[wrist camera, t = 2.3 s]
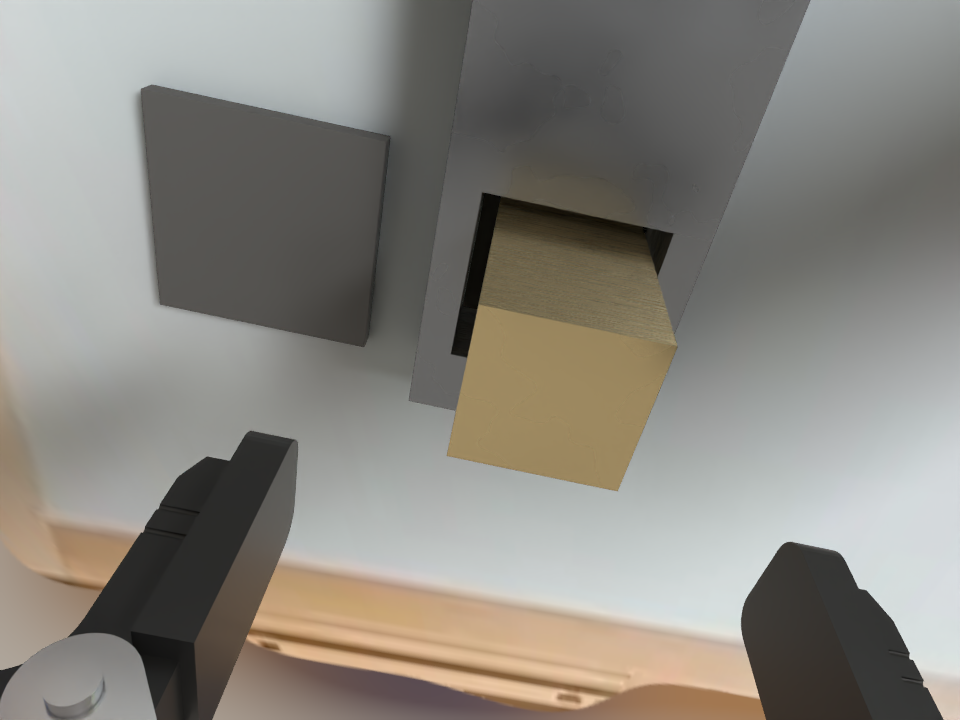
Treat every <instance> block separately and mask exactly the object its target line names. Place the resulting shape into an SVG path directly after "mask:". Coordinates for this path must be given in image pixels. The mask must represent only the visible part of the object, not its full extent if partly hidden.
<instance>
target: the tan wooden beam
mask: <svg viewBox="0 0 960 720" xmlns="http://www.w3.org/2000/svg"><path fill="white" fill-rule="evenodd" d="M676 349H677V343H676V340H675V336H674V333H673V329H672V326H671V323H670V319H669V316H668V312H667V309H666V305H665V302H664V298H663V295H662V292H661V288H660V285H659V281H658V278H657V274H656V271H655V267H654V264H653V261H652V257H651V254H650V250H649V247H648V243H647V240H646V237H645V233H644V230H643V227H642V226H637V225H633V224H628V223H623V222H619V221H614V220H610V219H605V218H600V217H596V216H591V215H586V214H582V213H577V212H572V211H568V210H563V209H558V208H554V207H549V206H545V205H540V204H535V203H531V202H526V201H521V200H517V199H512V198H507V197H503V196H501V200H500V204H499V209H498V214H497V219H496V223H495V228H494V233H493V238H492V242H491V247H490V252H489V256H488V261H487V266H486V271H485V275H484V280H483V285H482V290H481V294H480V299H479V304H478V309H477V314H476V318H475V323H474V328H473V333H472V337H471V342H470V347H469V352H468V357H467V361H466V366H465V371H464V376H463V380H462V385H461V390H460V395H459V400H458V404H457V409H456V414H455V419H454V423H453V428H452V433H451V438H450V443H449V447H448V452H447V456H450V457H455V458H460V459H464V460H469V461H474V462H479V463H484V464H488V465H493V466H498V467H503V468H508V469H513V470H517V471H522V472H527V473H532V474H537V475H541V476H546V477H551V478H556V479H561V480H566V481H570V482H575V483H580V484H585V485H590V486H595V487H599V488H604V489H609V490H614V491H618V489H619V486H620V484H621V482H622V479H623V477H624V474H625V472H626V470H627V467H628V465H629V462H630V460H631V458H632V455H633V453H634V450H635V448H636V446H637V443H638V441H639V438H640V436H641V434H642V431H643V429H644V426H645V424H646V421H647V419H648V417H649V414H650V412H651V409H652V407H653V405H654V402H655V400H656V397H657V395H658V393H659V390H660V388H661V385H662V383H663V381H664V378H665V376H666V373H667V371H668V369H669V366H670V364H671V361H672V359H673V356H674V354H675V352H676Z"/></svg>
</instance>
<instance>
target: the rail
mask: <svg viewBox="0 0 960 720" xmlns="http://www.w3.org/2000/svg"><path fill="white" fill-rule="evenodd" d="M809 2H810V0H473V2H472V8H471V14H470V21H469V27H468V33H467V39H466V46H465V52H464V58H463V64H462V71H461V77H460V83H459V89H458V96H457V102H456V108H455V114H454V121H453V127H452V133H451V140H450V146H449V152H448V158H447V165H446V171H445V177H444V183H443V190H442V196H441V202H440V208H439V215H438V221H437V227H436V233H435V240H434V246H433V252H432V259H431V265H430V271H429V277H428V284H427V290H426V296H425V302H424V309H423V315H422V321H421V327H420V334H419V340H418V346H417V352H416V359H415V365H414V371H413V377H412V384H411V390H410V396H409V401H412V402H417V403H422V404H427V405H432V406H436V407H441V408H446V409H451V410H456V409H457V404H458V400H459V395H460V390H461V385H462V380H463V376H464V371H465V366H466V361H467V357H468V352H469V347H470V342H471V337H472V333H473V328H474V323H475V318H476V314H477V309H473V308H468V307H463V302H464V297H465V291H466V286H467V281H468V276H469V271H470V266H471V261H472V256H473V251H474V246H475V241H476V235H477V230H478V225H479V220H480V215H481V210H482V205H483V200H484V195H485V193H489V194H493V195H498V196H503V197H507V198H512V199H517V200H521V201H526V202H531V203H535V204H540V205H545V206H549V207H554V208H558V209H563V210H568V211H572V212H577V213H582V214H586V215H591V216H596V217H600V218H605V219H610V220H614V221H619V222H623V223H628V224H633V225H637V226H642V227H647V230H646V233H645V237H646V240H647V243H648V247H649V250H650V254H651V257H652V261H653V264H654V267H655V271H656V274H657V278H658V281H659V285H660V288H661V292H662V295H663V298H664V302H665V305H666V309H667V312H668V316H669V319H670V323H671V326H672V329H673V333H674V334H675V331H676V329H677V327H678V324H679V322H680V319H681V317H682V314H683V312H684V309H685V307H686V304H687V302H688V300H689V297H690V295H691V292H692V290H693V287H694V285H695V282H696V280H697V277H698V275H699V273H700V270H701V268H702V265H703V263H704V260H705V258H706V255H707V253H708V250H709V248H710V246H711V243H712V241H713V238H714V236H715V233H716V231H717V228H718V226H719V223H720V221H721V219H722V216H723V214H724V211H725V209H726V206H727V204H728V201H729V199H730V196H731V194H732V192H733V189H734V187H735V184H736V182H737V179H738V177H739V174H740V172H741V169H742V167H743V165H744V162H745V160H746V157H747V155H748V152H749V150H750V147H751V145H752V142H753V140H754V138H755V135H756V133H757V130H758V128H759V125H760V123H761V120H762V118H763V115H764V113H765V111H766V108H767V106H768V103H769V101H770V98H771V96H772V93H773V91H774V88H775V86H776V84H777V81H778V79H779V76H780V74H781V71H782V69H783V66H784V64H785V61H786V59H787V57H788V54H789V52H790V49H791V47H792V44H793V42H794V39H795V37H796V34H797V32H798V29H799V27H800V25H801V22H802V20H803V17H804V15H805V12H806V10H807V7H808V5H809Z"/></svg>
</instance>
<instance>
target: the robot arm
mask: <svg viewBox="0 0 960 720" xmlns="http://www.w3.org/2000/svg"><path fill="white" fill-rule="evenodd" d="M297 458H298V442H297V440H294V439H289V438H284V437H279V436H274V435H269V434H264V433H259V432H254V431H249V432H248V433H247V434H246V435H245V436H244V438H243V440H242V441H241V443H240V445H239V446H238V448H237V450H236V452H235V453H234V455H233V457H232V458H231V460H230V461H227V460H222V459H217V458H212V457H205V458H204V459H203V460H201V461H200V462H198V463H197V464H196V465H194V466H193V467H191V468H190V469H189V470H187V471H186V472H184V473H183V474H182V475H180V476H179V477H178V478H177V479H176V481H175V482H174V484H173V485H172V487H171V488H170V490H169V491H168V493H167V494H166V496H165V497H164V499H163V500H162V502H161V503H160V507H159V509H158V510H156V511H155V512H154V514H153V515H152V517H151V518H150V520H149V521H148V523H147V524H146V526H145V530H144V532H143V533H140V535H139V536H138V538H137V539H136V541H135V542H134V544H133V545H132V547H131V549H130V550H129V552H128V553H127V555H126V556H125V558H124V559H123V561H122V562H121V564H120V565H119V567H118V568H117V570H116V571H115V573H114V574H113V576H112V577H111V579H110V580H109V582H108V583H107V585H106V586H105V588H104V589H103V591H102V592H101V594H100V595H99V597H98V598H97V600H96V601H95V603H94V604H93V606H92V607H91V609H90V610H89V612H88V613H87V615H86V616H85V618H84V619H83V620H82V622H81V623H80V624H79V626H78V627H77V628H76V629H75V630H74V632H72V633H71V634H70V635H69V636H68V637H67V638H65V639H62V640H60V641H57V642H55V643H53V644H51V645H49V646H47V647H45V648H43V649H42V650H41V651H39V652H37V653H36V654H35V655H33V656H32V657H31V658H29V659H28V660H27V661H26V662H25V663H24V664H21V665H19V666H15V667H12V668H9V669H5V670H0V720H212V719H213V716H214V714H215V711H216V709H217V707H218V704H219V702H220V699H221V697H222V695H223V692H224V690H225V687H226V685H227V682H228V680H229V678H230V675H231V673H232V671H233V667H234V665H235V663H236V661H237V659H238V656H239V654H240V651H241V649H242V647H243V644H244V642H245V639H246V637H247V635H248V632H249V630H250V627H251V625H252V623H253V620H254V618H255V615H256V613H257V611H258V608H259V606H260V603H261V601H262V599H263V596H264V594H265V591H266V589H267V587H268V584H269V582H270V579H271V577H272V575H273V572H274V570H275V567H276V565H277V563H278V560H279V558H280V555H281V553H282V551H283V548H284V546H285V543H286V540H287V537H288V534H289V531H290V527H291V523H292V518H293V513H294V504H295V489H296V473H297ZM741 630H742V636H743V640H744V644H745V647H746V651H747V654H748V658H749V661H750V665H751V668H752V672H753V675H754V679H755V682H756V686H757V689H758V693H759V696H760V700H761V703H762V707H763V710H764V714H765V717H766V720H943V718H942V716H941V714H940V712H939V710H938V708H937V706H936V704H935V702H934V700H933V698H932V696H931V694H930V692H929V690H928V688H926V687H923V681H924V680H923V679H922V677H921V675H920V673H919V671H918V669H917V667H916V665H915V663H914V661H913V660H910V659H909V654H910V653H909V651H908V649H907V647H906V645H905V643H904V641H903V639H902V637H901V635H900V633H899V631H898V629H897V627H896V626H895V624H894V622H893V620H892V619H891V618H890V617H889V616H888V614H887V613H886V612H885V611H884V610H883V609H882V608H881V606H880V605H879V604H878V603H877V602H876V601H875V600H874V598H873V597H872V596H871V595H870V594H869V593H868V592H867V590H862V589H859V588H858V586H857V584H856V582H855V580H854V578H853V576H852V574H851V572H850V570H849V568H848V566H847V564H846V562H845V560H844V558H843V557H842V556H841V554H839V553H838V552H836V551H833V550H829V549H824V548H819V547H814V546H809V545H804V544H799V543H794V542H787V543H785V544H783V545H782V546H781V547H780V548H779V550H778V551H777V553H776V554H775V556H774V557H773V559H772V560H771V562H770V563H769V565H768V566H767V568H766V569H765V571H764V572H763V574H762V575H761V577H760V578H759V580H758V582H757V583H756V585H755V586H754V588H753V589H752V591H751V592H750V594H749V595H748V597H747V599H746V601H745V603H744V606H743V610H742V617H741Z"/></svg>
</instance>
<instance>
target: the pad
mask: <svg viewBox="0 0 960 720" xmlns="http://www.w3.org/2000/svg"><path fill="white" fill-rule="evenodd" d="M141 95H142V106H143V117H144V128H145V140H146V151H147V162H148V173H149V184H150V195H151V207H152V218H153V229H154V240H155V251H156V263H157V274H158V285H159V296H160V304H161V305H166V306H170V307H175V308H180V309H185V310H190V311H194V312H199V313H204V314H209V315H213V316H218V317H223V318H228V319H232V320H237V321H242V322H247V323H252V324H256V325H261V326H266V327H271V328H275V329H280V330H285V331H290V332H294V333H299V334H304V335H309V336H314V337H318V338H323V339H328V340H333V341H337V342H342V343H347V344H352V345H356V346H361V347H364V346H365V344H366V342H367V340H368V335H369V326H370V317H371V308H372V299H373V290H374V281H375V272H376V263H377V254H378V245H379V236H380V227H381V217H382V208H383V199H384V190H385V181H386V172H387V163H388V154H389V145H390V136H387V135H382V134H377V133H373V132H368V131H363V130H359V129H354V128H350V127H345V126H340V125H336V124H331V123H326V122H322V121H317V120H313V119H308V118H303V117H299V116H294V115H290V114H285V113H280V112H276V111H271V110H266V109H262V108H257V107H253V106H248V105H243V104H239V103H234V102H229V101H225V100H220V99H216V98H211V97H206V96H202V95H197V94H193V93H188V92H183V91H179V90H174V89H169V88H165V87H160V86H156V85H150V86H147V87H144V88H142V89H141Z"/></svg>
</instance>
